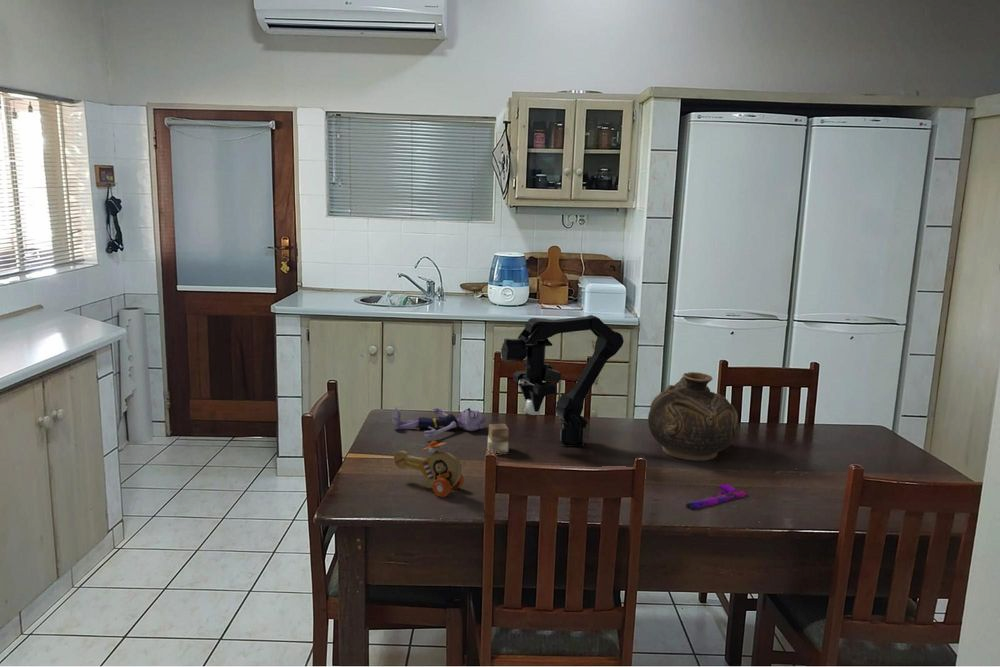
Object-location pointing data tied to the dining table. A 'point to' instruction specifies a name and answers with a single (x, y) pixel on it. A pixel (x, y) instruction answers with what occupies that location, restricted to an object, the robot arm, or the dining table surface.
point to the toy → (440, 421)
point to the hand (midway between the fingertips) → (533, 409)
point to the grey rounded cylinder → (531, 407)
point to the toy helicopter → (434, 468)
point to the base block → (497, 446)
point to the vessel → (692, 419)
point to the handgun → (718, 497)
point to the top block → (498, 432)
